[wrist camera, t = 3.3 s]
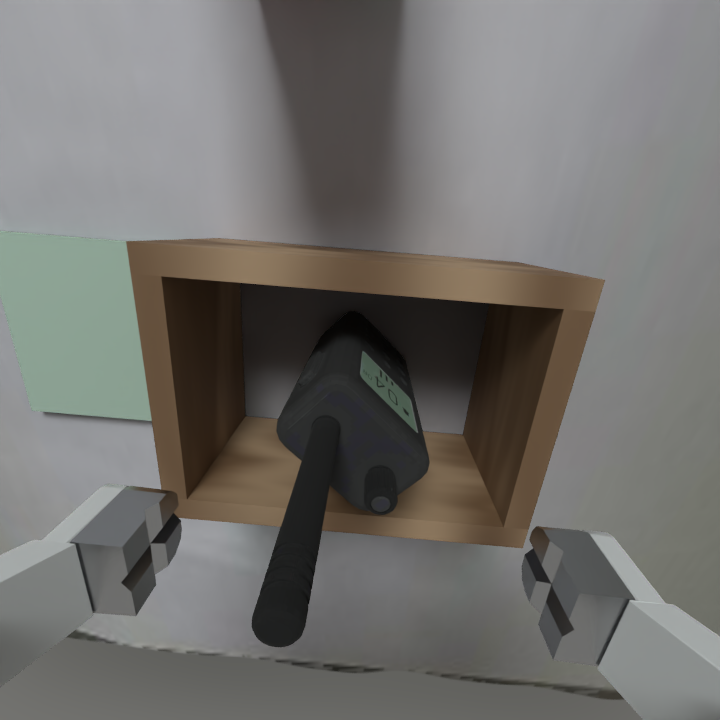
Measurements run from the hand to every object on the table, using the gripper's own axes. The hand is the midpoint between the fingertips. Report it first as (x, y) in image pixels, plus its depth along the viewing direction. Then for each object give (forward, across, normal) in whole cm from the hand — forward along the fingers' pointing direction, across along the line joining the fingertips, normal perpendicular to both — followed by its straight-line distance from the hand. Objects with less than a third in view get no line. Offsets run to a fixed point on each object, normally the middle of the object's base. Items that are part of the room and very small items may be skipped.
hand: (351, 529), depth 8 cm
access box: (+12, 0, 0) cm, 12 cm away
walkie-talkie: (+12, 0, 0) cm, 12 cm away
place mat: (+12, +14, 0) cm, 19 cm away
